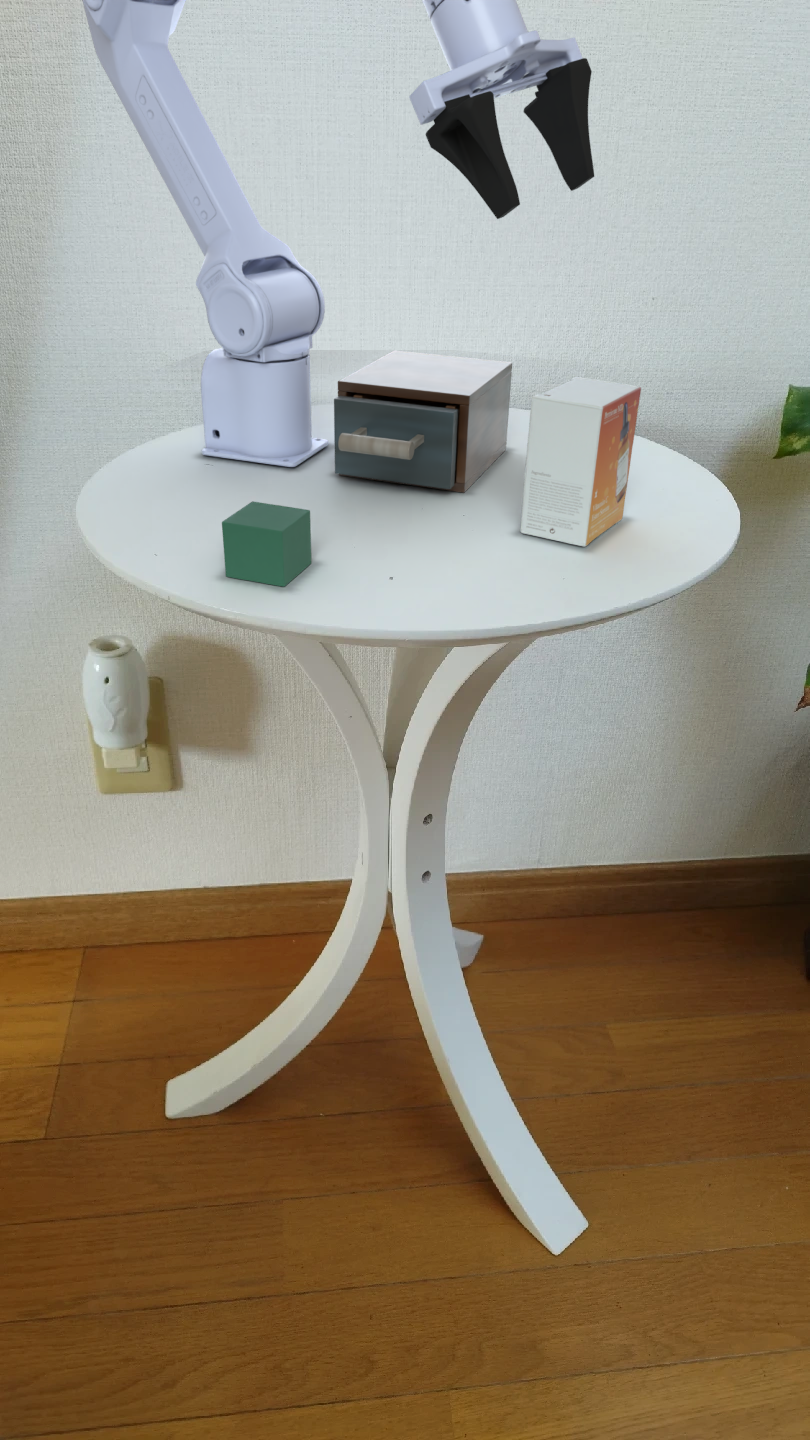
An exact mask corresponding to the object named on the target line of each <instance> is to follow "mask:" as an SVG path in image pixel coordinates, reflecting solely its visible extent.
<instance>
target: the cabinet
mask: <svg viewBox="0 0 810 1440" xmlns="http://www.w3.org/2000/svg"><path fill="white" fill-rule="evenodd" d="M512 374H513V362H512V361H503V360H496V359H495V360H494V359H485V358H474V357H464V356H454V355H445V354H434V353H426V352H425V353H424V352H415V351H405V350H395V349H393V350H392V351H391V352H389V353H387V354H385V355H383V356H381V357H379V358H378V359H376V360H373V361H372V362H370V363H367V365H365V366H362V367H361V368H359V369H357V370H355V371H354V372H352V373H349V374H348V375H346V376H344V377H343V378H341V379H339V380H338V381H337V397H338V396H347V397H354V395H355V394H357V393H363V394H372V395H381V396H390V397H398V398H407V399H416V400H425V401H433V402H442V403H451V404H459V405H460V412H459V432H458V452H457V471H456V472H455V481H454V486H453V487H452V488H451V489H444V488H437V487H430V486H422V485H415V484H408V483H401V482H394V481H387V480H379V479H372V478H365V477H358V476H351V475H344V474H338V476H341V477H349V478H356V479H363V480H370V481H371V480H372V481H377V482H384V483H392V484H399V485H406V486H414V487H421V488H427V489H435V490H441V491H450V492H457V493H466V492H467V490H468V489H470V487H472V485H474V483H475V482H477V480H478V479H479V478H480V477H481V476H482V475H483V474H484V473H485V472H486V471H487V470H488V469H489V468H490V467H491V466H492V465H493V463H495V462H496V460H498V458H500V456H501V455H502V454H503V453H504V452H505V451H506V450H507V441H508V430H509V429H508V428H509V427H508V425H509V414H510V402H511V401H510V399H511V388H512V376H513V375H512Z"/></svg>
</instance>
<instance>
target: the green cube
mask: <svg viewBox="0 0 810 1440" xmlns="http://www.w3.org/2000/svg"><path fill="white" fill-rule="evenodd" d="M311 527H312V526H311V510H310V509H305V508H300V507H299V508H298V507H294V506H293V507H292V506H285V505H279V504H273V503H266V502H259V501H251V502H249V503H247V504H246V505H245V506H243V507H242V508H241V509H239V510H238V511H236V512H235V513H233V514H231V515H230V516H228V517H226V519H224V520H222V521H221V529H222V531H221V533H222V545H223V557H224V558H223V559H224V570H225V577H226V578H231V579H236V580H237V579H238V580H243V581H249V582H254V583H260V584H266V585H271V586H277V587H286V586H287V585H288V584H289V583H291V582H292V581H293V580H294V579H295V578H297V576H299V575H300V574H302V572H303V571H304V570H306V569H307V568H308V567H309V566H310V565H311V564H312V533H311V531H312V530H311Z"/></svg>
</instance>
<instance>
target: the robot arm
mask: <svg viewBox="0 0 810 1440" xmlns="http://www.w3.org/2000/svg"><path fill="white" fill-rule="evenodd" d="M81 1H82V5H83V9H84V13H85V17H86V21H87V24H88V27H89V32H90V36H91V40H92V43H93V47H94V51H95V54H96V55H97V58H98V61H99V63H100V64H101V66H102V69H103V70H104V72H105V74H106V76H107V78H108V79H109V81H110V83H111V85H112V87H113V89H114V91H115V92H116V94H117V96H118V99H119V100H120V102H121V104H122V106H123V108H124V109H125V111H126V114H127V115H128V116H129V118H130V121H131V123H132V124H133V126H134V128H135V130H136V132H137V134H138V135H139V137H140V139H141V141H142V142H143V144H144V147H145V148H146V150H147V153H148V154H149V156H150V157H151V160H152V162H153V163H154V165H155V167H156V169H157V170H158V172H159V175H160V176H161V178H162V180H163V182H164V184H165V186H166V187H167V189H168V191H169V193H170V195H171V197H172V198H173V200H174V203H175V204H176V206H177V208H178V210H179V212H180V214H181V215H182V217H183V219H184V221H185V223H186V224H187V226H188V228H189V230H190V232H191V234H192V236H193V238H194V239H195V242H196V243H197V245H198V247H199V249H200V251H201V252H202V254H203V256H204V259H203V260H202V261H203V262H202V264H201V267H200V269H199V271H198V274H197V276H196V281H195V287H196V288H197V290H198V292H199V293H200V295H201V297H202V300H203V303H204V307H205V311H206V316H207V317H206V318H207V323H208V326H209V329H210V331H211V334H212V335H213V337H214V339H215V341H216V342H217V343H218V345H219V346H220V347H221V348H215V349H212V350H211V351H210V352H209V353H208V354H207V356H206V357H205V359H204V361H203V364H202V370H201V375H200V395H201V407H202V419H203V433H204V444H205V445H204V446H205V447H203V448H201V455H202V456H208V457H215V458H223V459H230V460H236V461H243V462H251V463H257V464H258V463H259V464H266V465H272V466H279V467H286V468H287V467H288V468H295V467H297V466H298V465H300V464H301V463H303V462H304V461H306V460H308V459H309V458H310V457H312V456H314V455H316V454H317V453H318V452H320V451H322V449H324V448H326V447H327V446H328V445H329V440H328V439H325V438H319V437H313V433H312V431H313V426H312V425H313V424H312V423H313V422H312V393H311V392H312V388H311V386H312V385H311V354H310V352H311V351H310V350H311V349H312V348H313V336H314V335H315V334H316V333H317V332H318V331H319V329H321V326H322V324H323V322H324V318H325V312H326V303H325V296H324V293H323V290H322V287H321V285H320V283H319V282H318V280H317V278H316V277H315V276H314V275H313V274H312V273H311V272H310V271H308V270H307V268H305V267H304V266H302V265H301V264H300V262H299V261H298V260H297V258H296V256H295V255H294V253H293V251H292V249H291V247H290V246H289V245H288V244H287V243H285V242H284V241H282V240H281V239H280V238H278V237H277V236H275V235H274V234H272V233H271V232H269V231H268V230H267V229H265V228H264V227H263V226H262V225H261V223H260V221H259V220H258V218H257V216H256V214H255V212H254V209H253V208H252V206H251V204H250V203H249V201H248V199H247V197H246V194H245V193H244V191H243V189H242V187H241V186H240V185H241V184H239V181H238V180H237V177H236V176H235V174H234V171H233V169H232V168H231V166H230V165H229V162H228V160H227V158H226V157H225V154H224V153H223V150H222V149H221V146H220V145H219V143H218V141H217V139H216V138H215V134H213V131H212V129H211V127H210V126H209V123H208V122H207V120H206V119H205V116H204V114H203V112H202V111H201V109H200V107H199V105H198V103H197V101H196V100H195V97H194V95H193V94H192V92H191V90H190V88H189V85H188V84H187V82H186V79H185V78H184V76H183V74H182V73H181V71H180V68H179V67H178V65H177V63H176V61H175V59H174V57H173V55H172V53H171V51H170V49H169V41H170V36H171V35H172V34H174V32H175V30H176V28H177V25H178V23H179V20H180V17H181V15H182V13H183V9H184V6H185V4H186V1H187V0H81ZM421 2H422V4H423V6H424V10H425V11H426V15H427V17H428V19H429V22H430V24H431V27H432V29H433V31H434V34H435V37H436V39H437V41H438V44H439V46H440V49H441V51H442V53H443V56H444V59H445V61H446V63H447V66H448V68H449V71H446V72H444V73H442V74H439V75H437V76H434V77H431V78H428V79H425V80H423V81H421V83H420V84H419V85H418V86H417V87H416V88H415V89H414V90H413V92H412V93H411V94H410V95H409V97H408V99H409V101H410V103H411V105H412V108H413V110H414V112H415V115H416V118H417V120H418V122H419V124H420V125H421V126H423V125H426V124H430V123H432V122H433V125H431V126H430V128H428V130H427V131H426V132H425V137H426V140H427V142H428V145H429V147H430V148H431V149H433V150H434V151H435V152H437V153H438V154H439V155H441V156H442V157H443V158H445V160H447V161H448V162H450V163H451V165H452V166H454V167H455V169H457V170H458V171H459V172H460V173H461V174H462V175H463V177H465V179H466V180H467V181H468V182H469V183H470V184H471V186H472V187H473V189H475V191H476V192H477V193H478V195H479V196H480V197H481V199H482V200H483V202H484V204H486V206H487V207H488V208H489V210H490V211H491V213H492V214H493V215H494V217H495V218H496V220H500V219H502V218H504V217H506V216H507V215H508V214H510V213H511V212H512V211H513V210H515V209H517V207H519V206H520V205H521V201H520V197H519V192H518V188H517V185H516V182H515V179H514V176H513V173H512V171H511V168H510V165H509V162H508V159H507V157H506V153H505V151H504V147H503V143H502V139H501V135H500V130H499V126H498V120H497V113H496V106H495V105H496V103H495V99H498V98H501V97H505V96H508V95H511V94H514V93H517V92H520V91H523V90H526V89H530V88H534V87H536V88H537V91H535V92H534V96H535V98H534V99H533V100H532V101H530V103H529V104H527V105H526V106H525V107H524V108H523V113H524V114H525V116H526V117H528V119H529V120H530V121H531V122H532V124H533V125H534V126H535V128H536V129H537V130H538V132H539V133H540V134H541V136H542V138H543V139H544V141H545V143H546V145H547V146H548V148H549V150H550V152H551V154H552V157H553V158H554V161H555V164H556V166H557V168H558V170H559V173H560V174H561V176H562V179H563V181H564V182H565V184H566V185H567V187H568V188H569V190H570V191H571V192H572V191H575V190H577V189H579V188H581V187H582V186H584V185H585V184H586V183H588V182H590V180H592V179H593V178H595V171H594V162H593V161H594V160H593V154H592V147H591V140H590V129H589V96H590V85H591V79H592V72H593V71H592V68H591V66H590V63H589V60H588V58H586V57H583V55H582V53H581V50H580V47H579V45H578V42H577V40H576V37H574V36H573V37H570V38H565V39H542V38H541V37H540V35H539V32H538V30H537V29H535V30H531V31H529V30H528V29H527V26H526V23H525V20H524V17H523V15H522V12H521V10H520V7H519V4H518V2H517V0H421Z"/></svg>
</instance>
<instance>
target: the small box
mask: <svg viewBox="0 0 810 1440" xmlns="http://www.w3.org/2000/svg"><path fill="white" fill-rule="evenodd" d="M641 393H642V387H641V386H639V385H635V384H634V385H633V384H629V383H628V384H627V383H621V382H615V381H608V380H601V379H596V378H595V379H594V378H588V377H582V376H574V377H572V378H571V379H569V380H567V381H565V382H564V383H561V384H559V385H557V386H555V387H552V388H550V389H548V390H546V391H543V392H541V393H536V394H534V395H532V396H531V400H530V412H529V413H530V414H529V423H528V435H527V445H526V446H527V447H526V457H525V459H526V460H525V469H524V481H523V483H524V484H523V492H522V504H521V518H520V527H519V528H520V533H521V534H524V535H529V536H534V537H537V538H538V537H539V538H543V539H547V540H552V541H556V542H561V543H565V544H569V545H574V546H578V547H584V548H585V547H588V545H589V544H590V543H591V542H592V541H594V540H595V539H596V538H598V537H599V536H600V535H602V534H603V533H605V532H606V531H607V530H608V529H610V528H612V527H614V525H615V524H617V523H619V522H621V521H622V520H623V516H624V510H625V503H626V502H625V501H626V496H627V487H628V481H629V476H630V468H631V462H632V453H633V446H634V441H635V433H636V426H637V419H638V413H639V407H640V400H641V399H640V398H641Z"/></svg>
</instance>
